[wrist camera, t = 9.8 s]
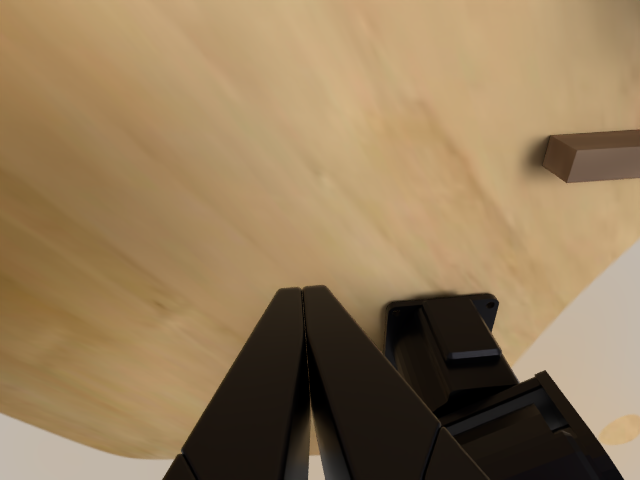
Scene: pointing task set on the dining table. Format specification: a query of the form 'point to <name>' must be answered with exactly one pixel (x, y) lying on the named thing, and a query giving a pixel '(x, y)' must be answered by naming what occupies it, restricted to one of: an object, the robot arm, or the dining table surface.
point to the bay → (594, 156)
